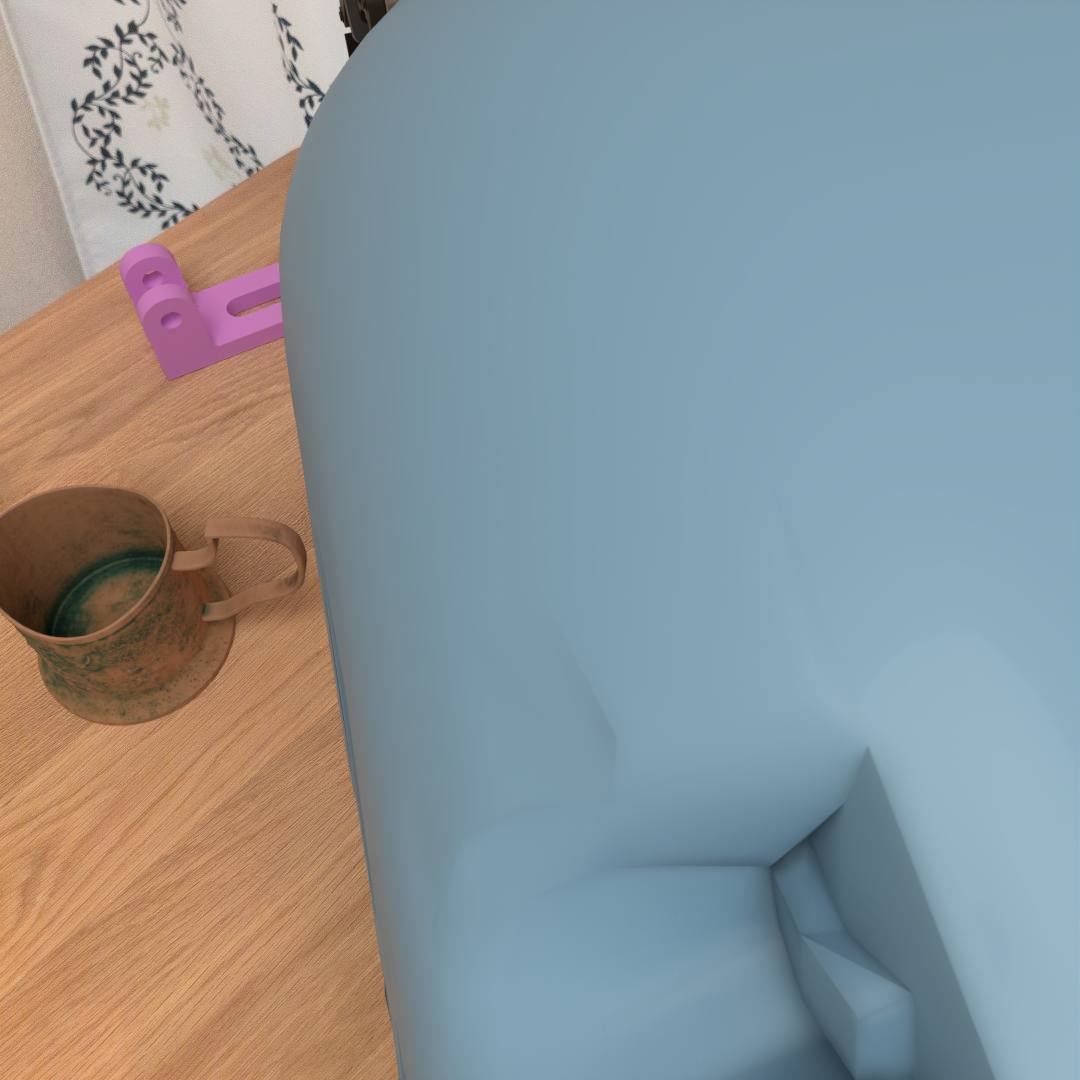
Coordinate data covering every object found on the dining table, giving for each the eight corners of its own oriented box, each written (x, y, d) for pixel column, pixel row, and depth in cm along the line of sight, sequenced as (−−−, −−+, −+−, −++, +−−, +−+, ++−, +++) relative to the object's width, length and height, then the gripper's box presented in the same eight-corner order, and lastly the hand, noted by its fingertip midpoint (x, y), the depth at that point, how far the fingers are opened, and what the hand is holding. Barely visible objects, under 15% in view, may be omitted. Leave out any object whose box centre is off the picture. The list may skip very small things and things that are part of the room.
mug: (325, 723, 65) (277, 626, 55) (19, 726, 66) (-84, 631, 56) (343, 549, 71) (304, 433, 61) (63, 554, 72) (-23, 439, 62)
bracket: (168, 381, 79) (134, 310, 73) (145, 327, 82) (110, 255, 76) (343, 313, 82) (325, 240, 76) (316, 263, 85) (295, 189, 79)
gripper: (507, -85, 41) (531, 333, 59) (370, -359, 53) (426, 59, 71) (298, -44, 40) (389, 368, 58) (208, -332, 52) (307, 84, 71)
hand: (409, 198), depth 65 cm, fingers open, 11 cm apart
